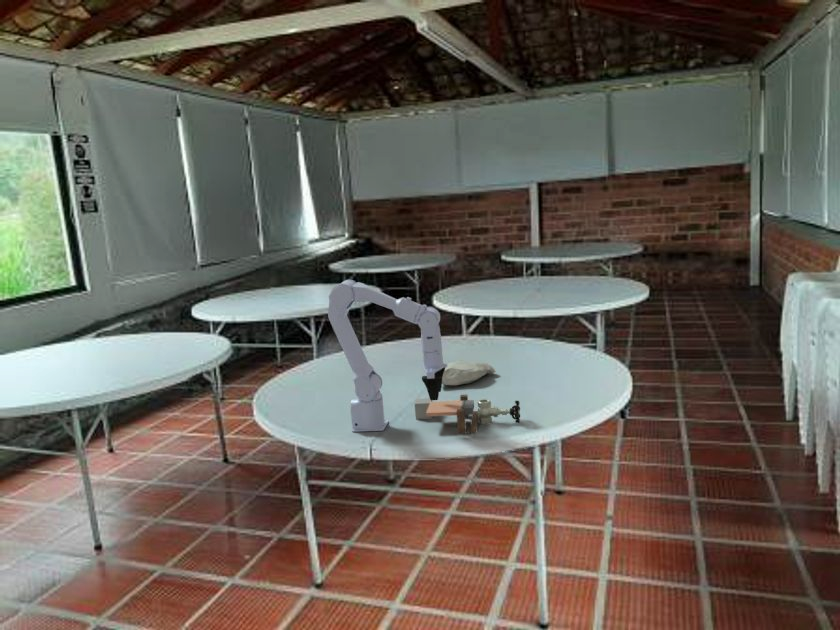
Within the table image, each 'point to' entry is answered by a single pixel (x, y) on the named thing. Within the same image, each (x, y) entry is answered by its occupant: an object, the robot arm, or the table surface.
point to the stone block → (422, 408)
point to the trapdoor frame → (461, 419)
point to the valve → (495, 411)
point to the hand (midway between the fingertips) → (435, 395)
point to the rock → (464, 372)
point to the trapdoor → (450, 408)
